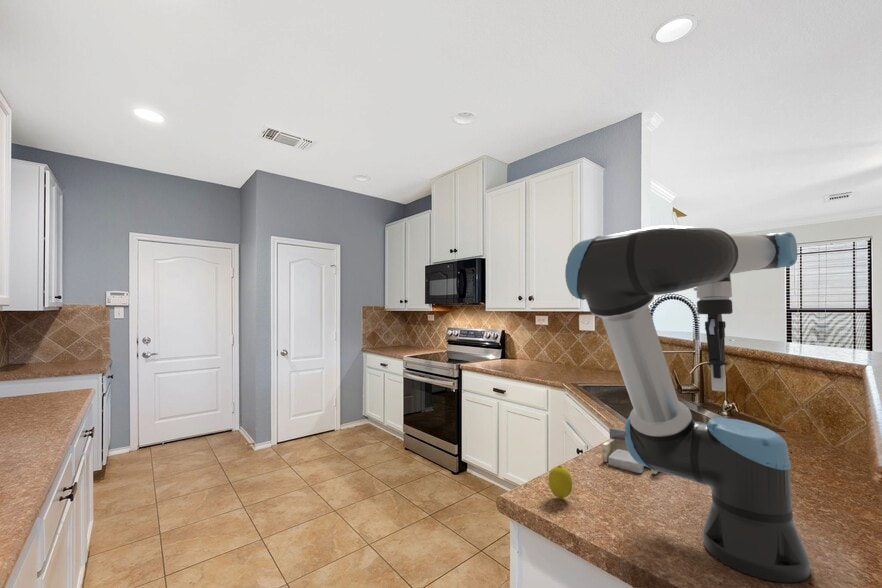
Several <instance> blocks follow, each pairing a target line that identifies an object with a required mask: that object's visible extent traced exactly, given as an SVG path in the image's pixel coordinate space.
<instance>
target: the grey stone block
mask: <svg viewBox="0 0 882 588" xmlns="http://www.w3.org/2000/svg"><path fill="white" fill-rule="evenodd" d="M608 460H609V461H608V462H607V465H609V466H611V467H614V468H618V469H622V470H626V471H629V472H632V473H637V474H643V472H644V470H645V466H644V465H641V464H639V463H638V462H636V461H635V460H634V459H633V457H632V456H631V455H630V453H629V451H625V450H620V449H618V450H616V451H614V452H613V453H612V454H611V455H610V456H609V458H608Z"/></svg>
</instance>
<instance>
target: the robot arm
mask: <svg viewBox="0 0 882 588" xmlns="http://www.w3.org/2000/svg"><path fill="white" fill-rule="evenodd" d="M797 260H798V244H797V240H796V237H795V235H794V234H793V233H792V232H790V231H784V232H772V233H767V234H731V233H727V232H726V231H724V230H721V229H718V228H715V227H705V226H704V227H703V226H689V225H687V226H686V225H657V226H649V227H644V228H640V229H636V230H635V229H634V230H629V231H624V232H618V233H613V234H607V235H602V236H601V235H596V236H595V237H593V238H588V239H585V240H581V241H579V242H577V243H575V245H574V246H573V247H572V249H571V250H570V252H569V254H568V257H567V260H566V264H565V273H564V275H565V276H564V277H565V282H566V286H567V290H568V291H569V293H570V294H571V295H572V296H573V297H575V299H579V300H581V301H584V300H585V301H586V303H587V306H588V309H589V312H590V313H591V314H592V315H593V316H595V317H598V318H601V321H602V323H603V325H604V326H603V327H604V329H605V332H606V335H607V337H608V340H609V343H610V346H611V349H612V352H613V355H614V357H615V361H616V362H617V363H616V364H617V366H618V368H619V371H620V374H621V377H622V379H623V382H624V386H625V388H626V391H627V394H628V397H629V400H630V402H631V405H632V407H633V408H632V410H631V411H630V414H629V416H628V417H627V419H626V422H625V425H624V429H625V433H626V437H625V442H626V446H627V449H628V451H629V453H630V455H631V456H632V457H633V459H634V460H635V461H636V462H638V463H639V464H641V465H644V467H647V468H648V469H650V470H651V469H652V470H655V471H659V472H661V473H663V474H668V475H672V476H675V477H677V478H678V477H679V478H682V479H686V480H688V481H692V482H696V483H699V484H703V485H706V486H708V487H710V489H711V500H712V501H711V505H710V508H709V510H708V513H707V516H706V520H705V523H704V526H703V528H702V537H703V539H702V541H703V545H704V547H705V549H706V550H707V552H708V553H710V554H711V555H712V556H713V557H714V558H716V559H717V560H718V561H720V562H722V563H724V565H726V566H728V567H730V568H732V569H735V570H736V571H738V572H741V573H743V574H746V575H749V576H752V577H754V578H760V579H763V580H765V581H766V580H767V581H771V582H772V581H773V582H779V583H799V581H800V582H803V581H805V580H806V579H808V578H809V577H810V576H811V575H810V574H811V569H810V568H811V566H810V558H809V555H808V552H807V550H806V547H805V546H804V543H803V541H802V539H801V536H800V534H799V531H798V530H797V527H796V525H795V523H794V516H793V497H792V478H791V467H792V463H791V461H790V455H789V449H788V444H787V441H785V439H784V438H783V437H782V436H781V435H780V434H778V433H777V432H775V431H773V430H771V429H769V428H767V427H765V426H763V425H759V424H756V423H753V422H749V421H745V420H742V419H737V418H727V417H712V418H710V419H709V420H708V422H706V423H705V422H701V421H695V420H694V417H693V415H692V411H691V410H690V408H689V407H688V406H687V405H686V404H685V403H684V402H682V401H680V400H679V398H678V396H677V392H676V390H675V389H676V388H675V386H674V383H673V380H672V376H671V373H670V371H669V370H670V369H669V367H668V364H667V361H666V358H665V357H666V356H665V354H664V352H663V348H662V344H661V342H660V339H659V336H658V333H657V330H656V326H655V323H654V319H653V317H652V314H651V310H650V308H649V305H650V304H651V303H652V302H653V300H654V298H655V296H661V295H669V294H673V293H678V292H681V291H686V290H690V289H693V291H694V292H696V298H697V299H699V300H697V301H696V308H697V309H696V313H697V314H699V315H707V321H704V330H705V333H706V342H707V343H706V344H707V352H708V361H707V362H706V365H707V366H710V377H711V391H715V392H723V393H724V392H726V375H725V374H726V372H725V365H726V366H727V365H729V363H728V362H727V361H726V350H725V349H726V348H725V347H726V346H725V345H726V344H725V343H726V342H725V341H726V340H725V339H726V333H725V330H726V329H725V328H726V321H723V316H722V315H731V314H733V301H732V299H730V298H732V297H733V293H732V292H733V291H732V290H733V288H732V287H733V286H732V280H731V279H732V277H731V275H733V274H734V275H735V274H738V273H746V272H752V271H760V270H770V269H780V268H788V267H792V266H794V265H795V264H796V262H797Z"/></svg>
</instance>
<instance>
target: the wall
mask: <svg viewBox="0 0 882 588" xmlns="http://www.w3.org/2000/svg"><path fill="white" fill-rule="evenodd" d="M625 437H626V433H625V428H620V427H613V426H611V427H609V439H611V438H617V439H622V440H625Z"/></svg>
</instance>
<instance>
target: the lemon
mask: <svg viewBox="0 0 882 588" xmlns="http://www.w3.org/2000/svg"><path fill="white" fill-rule="evenodd" d="M548 486H549V489H550V491H551V493H552V495H554V496H555V497H557V498H558V499H559V500H563V499H565V498H567V497H569V495H571V493H572V490H573V477H572V475H571V473H570V471H569V469H568V468H565V466H562V465H560V464H558V465H557V466H554V467H553V468H552V469H551V470H550V471H549V475H548Z"/></svg>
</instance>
